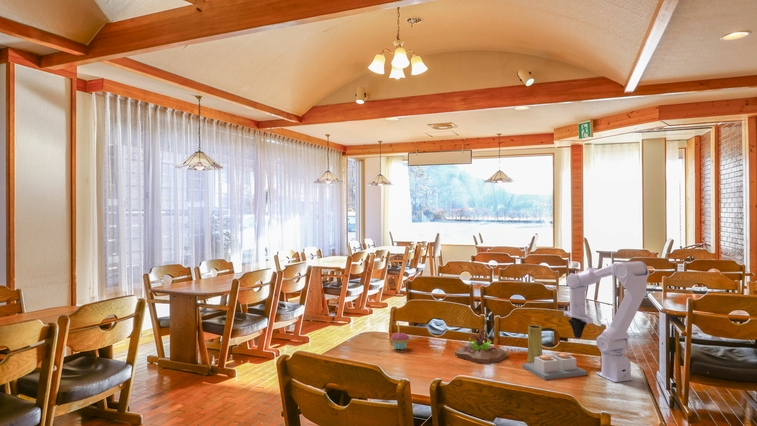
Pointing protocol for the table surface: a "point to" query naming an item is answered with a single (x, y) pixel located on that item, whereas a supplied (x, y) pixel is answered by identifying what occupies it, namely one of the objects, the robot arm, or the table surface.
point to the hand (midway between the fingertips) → (577, 337)
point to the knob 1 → (545, 357)
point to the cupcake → (399, 339)
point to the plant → (481, 351)
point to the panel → (554, 368)
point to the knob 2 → (564, 355)
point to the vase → (534, 342)
